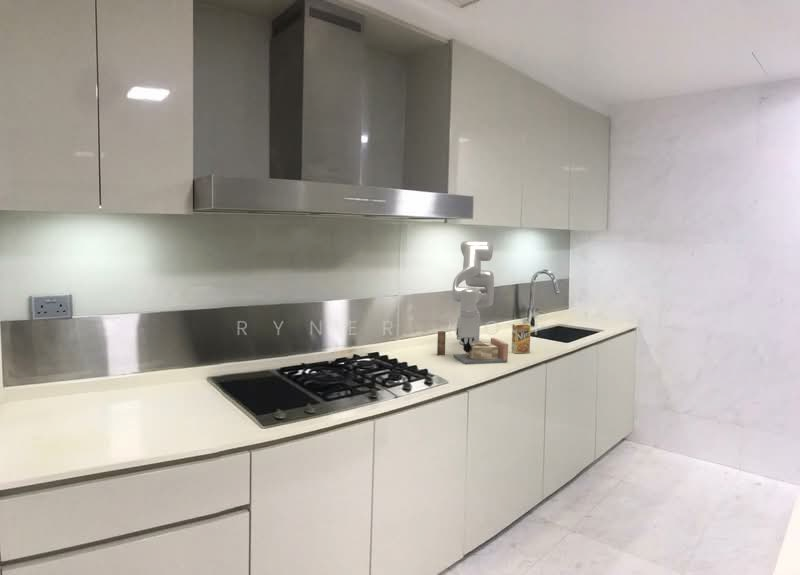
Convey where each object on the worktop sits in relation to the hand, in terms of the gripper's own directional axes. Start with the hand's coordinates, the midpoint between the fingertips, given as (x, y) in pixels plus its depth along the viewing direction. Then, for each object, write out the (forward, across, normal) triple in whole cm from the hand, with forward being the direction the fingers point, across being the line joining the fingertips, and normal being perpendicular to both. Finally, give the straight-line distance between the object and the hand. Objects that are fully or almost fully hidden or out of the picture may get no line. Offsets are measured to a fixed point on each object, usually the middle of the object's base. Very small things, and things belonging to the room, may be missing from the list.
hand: (466, 351), depth 247 cm
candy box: (+5, -35, -13) cm, 38 cm away
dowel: (+5, +9, -14) cm, 17 cm away
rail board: (+4, -7, -1) cm, 9 cm away
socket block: (+3, -8, -1) cm, 9 cm away
